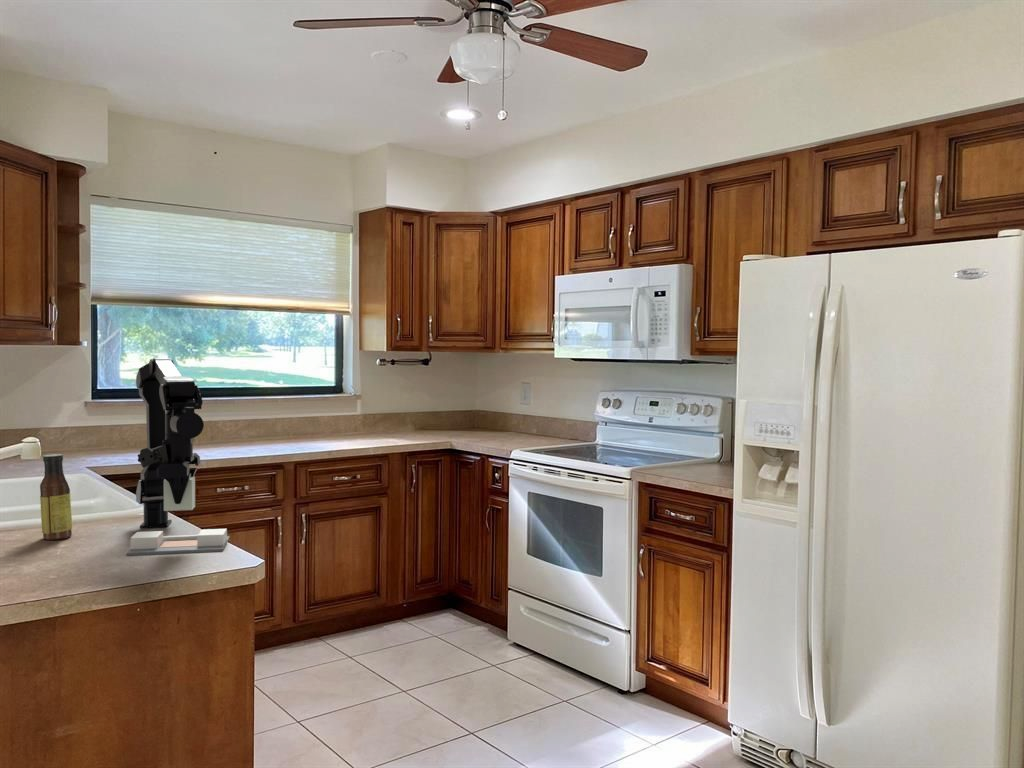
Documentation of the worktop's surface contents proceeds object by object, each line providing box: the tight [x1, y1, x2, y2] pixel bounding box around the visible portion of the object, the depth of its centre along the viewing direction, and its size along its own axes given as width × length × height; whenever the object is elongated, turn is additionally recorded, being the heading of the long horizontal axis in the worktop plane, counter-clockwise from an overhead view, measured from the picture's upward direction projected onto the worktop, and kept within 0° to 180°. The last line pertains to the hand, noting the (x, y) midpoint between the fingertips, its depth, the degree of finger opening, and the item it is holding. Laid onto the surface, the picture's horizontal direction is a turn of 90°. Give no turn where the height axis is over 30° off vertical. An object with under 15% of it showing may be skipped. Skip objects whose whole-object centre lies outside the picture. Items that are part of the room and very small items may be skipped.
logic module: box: [164, 476, 196, 512], centre depth 181 cm, size 4×6×7 cm, turn 103°
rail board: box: [125, 528, 230, 556], centre depth 181 cm, size 12×20×3 cm, turn 103°
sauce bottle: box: [39, 453, 73, 541], centre depth 188 cm, size 7×6×20 cm
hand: (179, 501), depth 181 cm, fingers closed on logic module, 4 cm apart
